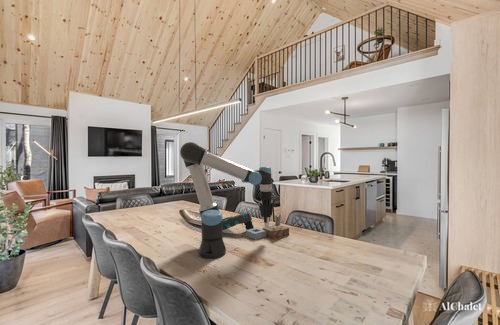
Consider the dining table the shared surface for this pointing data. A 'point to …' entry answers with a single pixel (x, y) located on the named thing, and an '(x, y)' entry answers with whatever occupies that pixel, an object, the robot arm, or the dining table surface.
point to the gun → (238, 221)
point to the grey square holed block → (256, 233)
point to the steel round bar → (277, 220)
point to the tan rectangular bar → (277, 227)
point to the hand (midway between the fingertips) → (267, 227)
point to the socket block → (276, 232)
